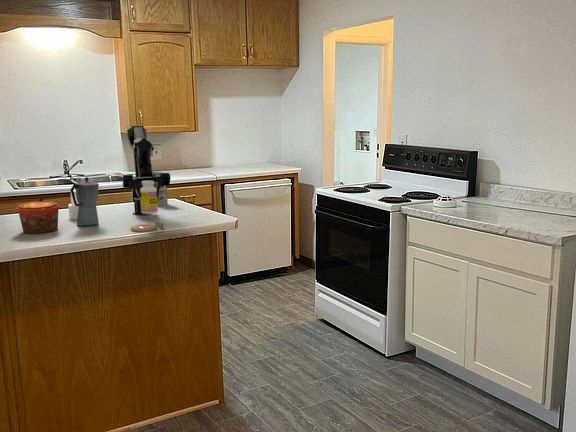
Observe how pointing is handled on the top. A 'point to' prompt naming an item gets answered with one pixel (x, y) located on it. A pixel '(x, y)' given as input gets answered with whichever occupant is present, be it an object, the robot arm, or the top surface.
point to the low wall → (159, 224)
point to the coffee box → (161, 191)
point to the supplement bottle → (148, 197)
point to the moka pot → (86, 202)
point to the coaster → (143, 227)
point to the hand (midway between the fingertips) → (149, 196)
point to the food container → (39, 217)
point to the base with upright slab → (73, 207)
